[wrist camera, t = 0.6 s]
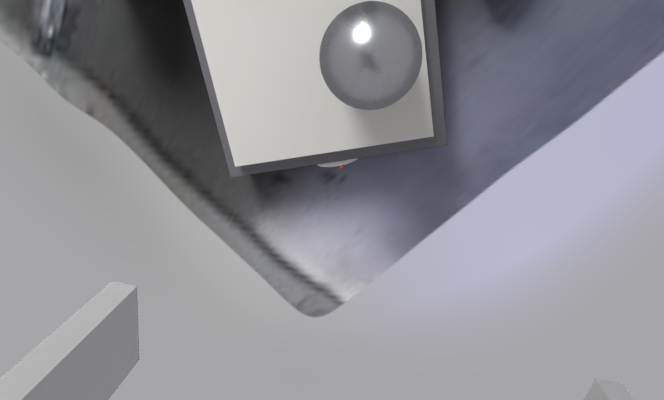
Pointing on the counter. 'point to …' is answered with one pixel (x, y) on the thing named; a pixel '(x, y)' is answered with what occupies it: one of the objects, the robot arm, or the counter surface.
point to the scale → (304, 86)
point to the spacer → (370, 55)
